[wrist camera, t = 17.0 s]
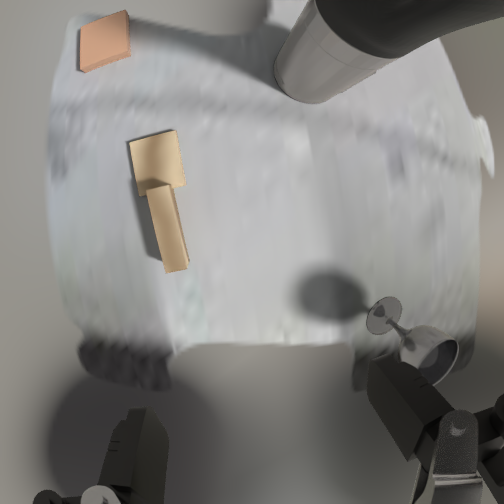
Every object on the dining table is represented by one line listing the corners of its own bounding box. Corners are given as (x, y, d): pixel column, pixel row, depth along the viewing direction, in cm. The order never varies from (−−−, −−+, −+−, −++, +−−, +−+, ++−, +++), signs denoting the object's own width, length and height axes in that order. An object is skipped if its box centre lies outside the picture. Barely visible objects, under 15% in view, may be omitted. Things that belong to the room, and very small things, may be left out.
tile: (131, 57, 28) (129, 16, 26) (127, 51, 26) (125, 9, 24) (86, 73, 28) (86, 32, 25) (80, 69, 26) (80, 27, 23)
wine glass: (360, 340, 43) (406, 396, 28) (368, 297, 41) (424, 346, 26) (398, 333, 44) (447, 380, 29) (407, 292, 41) (465, 333, 27)
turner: (176, 131, 32) (172, 126, 28) (202, 257, 36) (200, 266, 33) (131, 143, 31) (122, 140, 28) (158, 266, 36) (152, 275, 32)
